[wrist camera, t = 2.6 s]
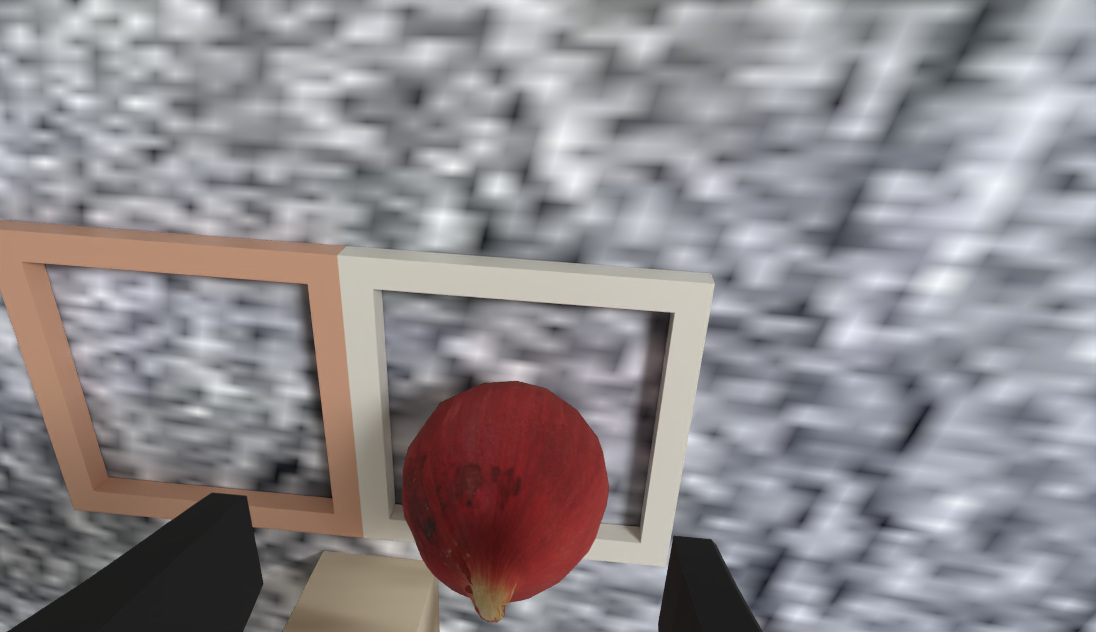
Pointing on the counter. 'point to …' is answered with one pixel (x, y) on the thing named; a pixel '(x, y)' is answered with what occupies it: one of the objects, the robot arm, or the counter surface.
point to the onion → (504, 492)
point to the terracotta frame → (23, 247)
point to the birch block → (367, 596)
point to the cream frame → (537, 283)
